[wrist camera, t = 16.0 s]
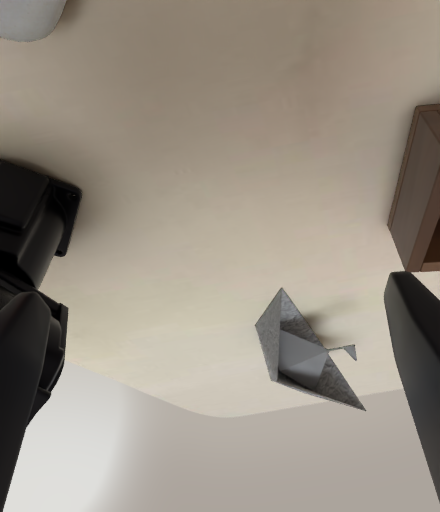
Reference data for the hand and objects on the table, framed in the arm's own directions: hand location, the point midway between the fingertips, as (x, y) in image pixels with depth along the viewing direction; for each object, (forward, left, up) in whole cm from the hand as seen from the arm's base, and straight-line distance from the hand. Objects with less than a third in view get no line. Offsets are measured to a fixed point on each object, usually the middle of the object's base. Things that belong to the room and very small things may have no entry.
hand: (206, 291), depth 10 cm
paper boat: (-16, -16, -13) cm, 26 cm away
